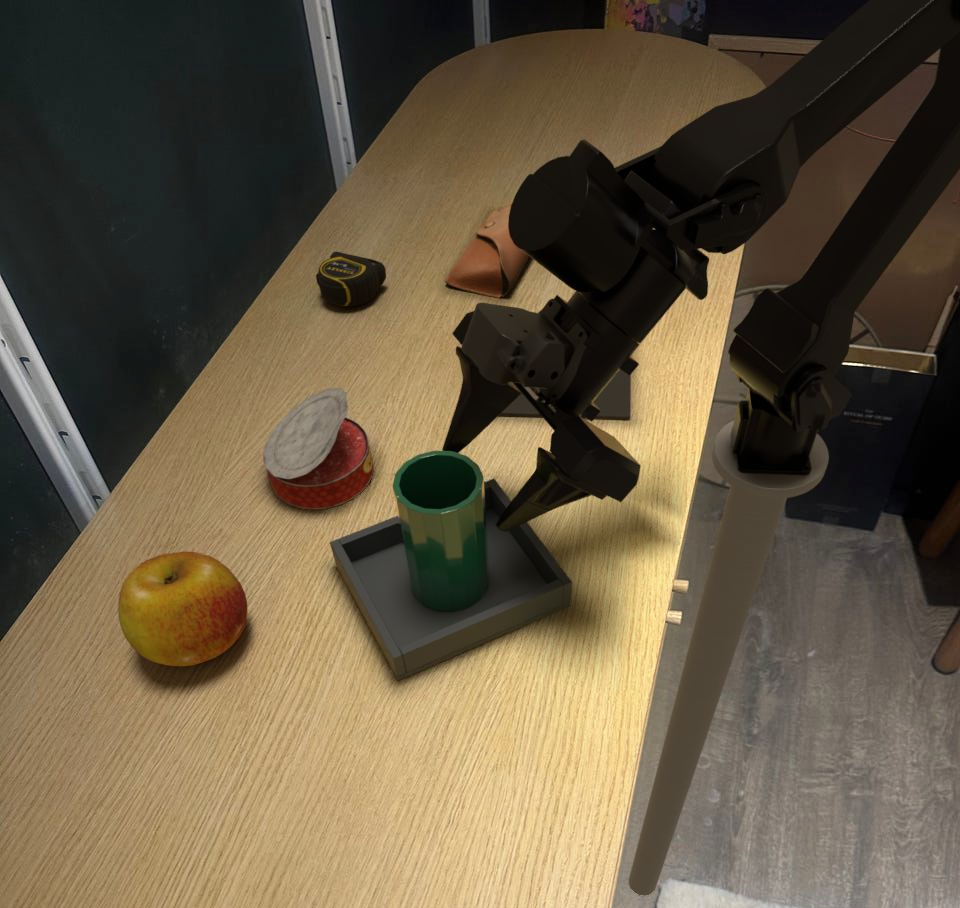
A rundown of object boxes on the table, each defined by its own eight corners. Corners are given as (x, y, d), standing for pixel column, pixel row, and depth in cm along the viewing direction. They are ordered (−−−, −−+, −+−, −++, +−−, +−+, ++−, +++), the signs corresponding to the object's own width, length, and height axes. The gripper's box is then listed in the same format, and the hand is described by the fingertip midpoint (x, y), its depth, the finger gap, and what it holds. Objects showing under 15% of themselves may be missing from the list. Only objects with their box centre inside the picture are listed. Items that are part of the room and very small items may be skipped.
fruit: (246, 582, 73) (218, 517, 67) (267, 662, 68) (240, 600, 62) (134, 615, 72) (95, 552, 65) (147, 700, 67) (106, 640, 60)
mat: (630, 323, 93) (630, 320, 92) (630, 420, 83) (630, 416, 83) (484, 320, 94) (484, 317, 94) (468, 415, 85) (467, 411, 85)
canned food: (349, 540, 82) (306, 509, 72) (268, 495, 85) (216, 460, 75) (408, 439, 82) (373, 395, 73) (325, 397, 85) (281, 349, 75)
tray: (495, 503, 78) (494, 477, 75) (571, 605, 70) (572, 581, 68) (336, 566, 74) (329, 541, 72) (398, 681, 67) (392, 658, 64)
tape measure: (391, 287, 99) (386, 256, 96) (361, 318, 96) (355, 288, 93) (341, 274, 101) (335, 244, 98) (310, 305, 98) (303, 275, 95)
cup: (492, 558, 74) (487, 452, 64) (485, 618, 70) (477, 515, 60) (417, 554, 74) (400, 449, 65) (406, 614, 71) (386, 511, 61)
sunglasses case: (491, 206, 108) (516, 162, 102) (537, 240, 109) (564, 199, 104) (440, 285, 98) (465, 240, 92) (491, 321, 99) (519, 279, 94)
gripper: (469, 197, 58) (345, 384, 64) (617, 341, 48) (452, 546, 54) (566, 273, 66) (448, 432, 72) (709, 409, 56) (557, 580, 62)
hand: (472, 490), depth 65 cm, fingers open, 9 cm apart
